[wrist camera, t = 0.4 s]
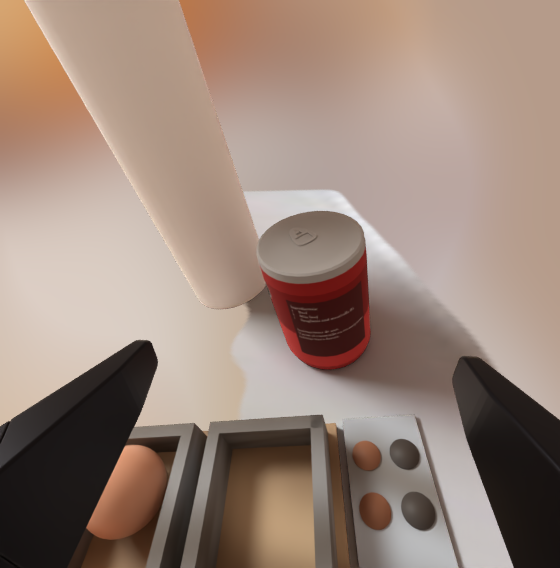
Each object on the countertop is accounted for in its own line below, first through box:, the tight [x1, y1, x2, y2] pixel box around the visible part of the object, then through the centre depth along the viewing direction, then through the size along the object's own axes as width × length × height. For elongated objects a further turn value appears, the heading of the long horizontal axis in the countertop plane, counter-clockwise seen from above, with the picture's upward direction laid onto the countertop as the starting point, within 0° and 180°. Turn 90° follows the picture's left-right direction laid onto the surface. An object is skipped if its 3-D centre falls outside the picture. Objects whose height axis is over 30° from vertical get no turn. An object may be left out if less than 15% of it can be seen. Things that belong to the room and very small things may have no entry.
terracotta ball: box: [86, 445, 167, 540], centre depth 20 cm, size 5×5×5 cm
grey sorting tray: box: [67, 415, 459, 568], centre depth 17 cm, size 16×24×3 cm, turn 88°
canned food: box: [256, 211, 370, 370], centre depth 25 cm, size 8×8×11 cm
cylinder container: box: [24, 0, 266, 309], centre depth 28 cm, size 9×9×30 cm
